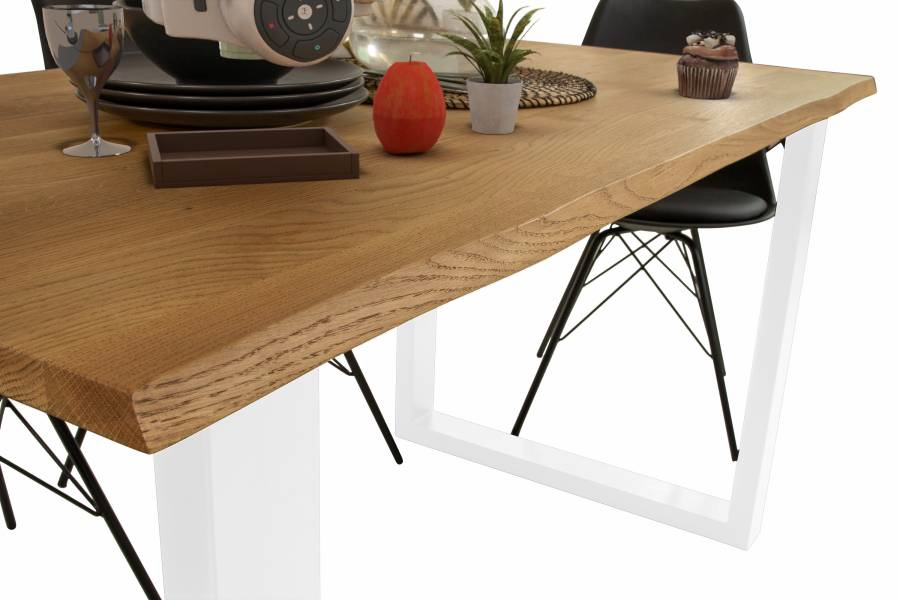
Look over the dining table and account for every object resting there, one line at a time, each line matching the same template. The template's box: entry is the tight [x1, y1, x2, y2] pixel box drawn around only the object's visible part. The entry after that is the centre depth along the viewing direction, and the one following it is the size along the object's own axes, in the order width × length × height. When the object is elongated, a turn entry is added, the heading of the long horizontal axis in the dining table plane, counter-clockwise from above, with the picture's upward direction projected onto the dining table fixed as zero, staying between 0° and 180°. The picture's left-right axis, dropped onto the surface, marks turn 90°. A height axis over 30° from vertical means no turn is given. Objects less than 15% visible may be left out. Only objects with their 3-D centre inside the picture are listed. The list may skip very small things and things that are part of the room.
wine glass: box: [42, 4, 132, 158], centre depth 107 cm, size 8×8×15 cm
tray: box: [146, 126, 360, 190], centre depth 103 cm, size 20×15×3 cm
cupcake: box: [675, 29, 740, 100], centre depth 158 cm, size 10×10×10 cm
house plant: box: [432, 0, 545, 135], centre depth 125 cm, size 14×14×16 cm
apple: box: [372, 54, 447, 155], centre depth 111 cm, size 8×8×11 cm
